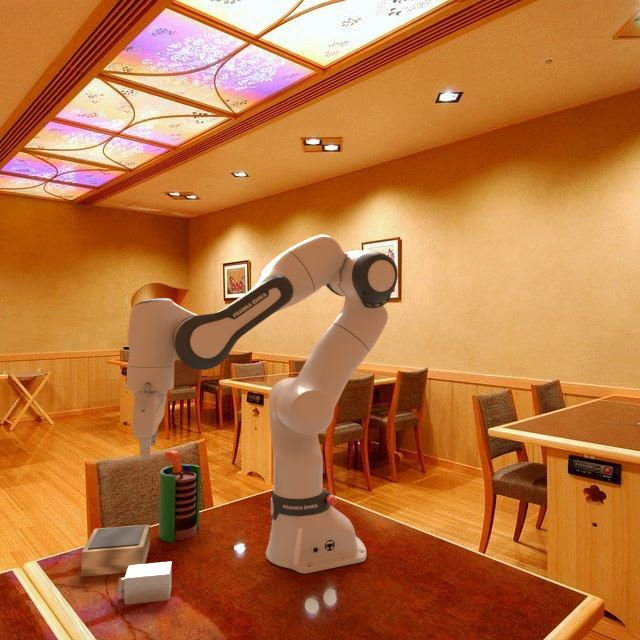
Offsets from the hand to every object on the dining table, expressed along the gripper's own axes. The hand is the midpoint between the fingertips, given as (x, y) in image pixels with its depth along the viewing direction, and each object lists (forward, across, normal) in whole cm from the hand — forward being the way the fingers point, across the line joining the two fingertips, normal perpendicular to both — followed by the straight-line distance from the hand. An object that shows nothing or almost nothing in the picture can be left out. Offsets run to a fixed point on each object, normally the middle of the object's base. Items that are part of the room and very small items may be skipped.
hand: (148, 450), depth 100 cm
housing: (+27, -3, -1) cm, 27 cm away
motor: (+27, +25, -4) cm, 37 cm away
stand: (+27, +13, +7) cm, 31 cm away
